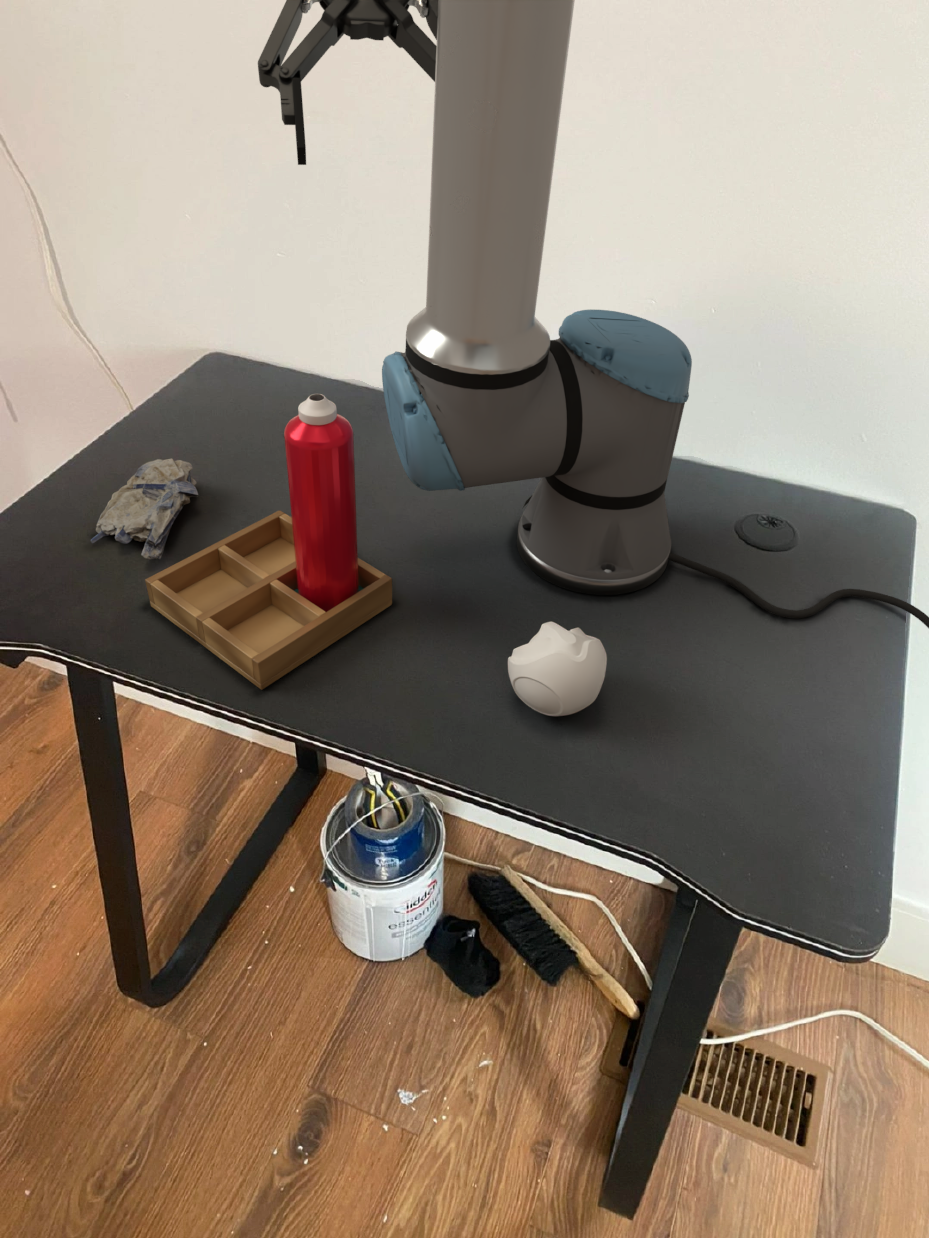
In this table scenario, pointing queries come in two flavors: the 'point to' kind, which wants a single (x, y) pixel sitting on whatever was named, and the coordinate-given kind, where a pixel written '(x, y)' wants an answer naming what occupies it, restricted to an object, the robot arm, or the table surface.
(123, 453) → the table surface
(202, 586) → the wooden divided tray
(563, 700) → the off-white rounded piece
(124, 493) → the crumpled cloth bundle
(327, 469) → the bottle
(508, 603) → the table surface
